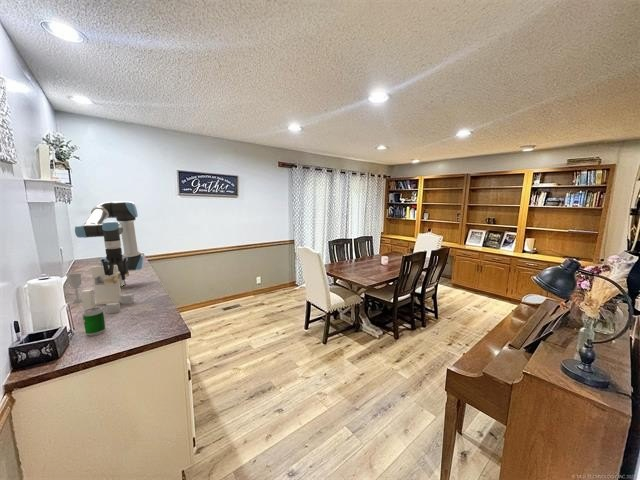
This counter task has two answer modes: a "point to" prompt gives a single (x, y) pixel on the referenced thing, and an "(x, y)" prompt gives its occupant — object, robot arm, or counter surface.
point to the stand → (116, 306)
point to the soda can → (94, 321)
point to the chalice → (75, 285)
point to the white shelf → (101, 289)
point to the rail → (114, 278)
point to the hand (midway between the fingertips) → (118, 285)
